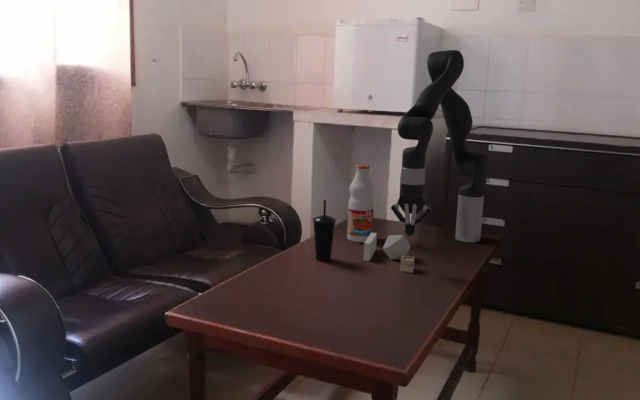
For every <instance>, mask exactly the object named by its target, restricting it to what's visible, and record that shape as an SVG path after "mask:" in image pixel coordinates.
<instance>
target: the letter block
mask: <svg viewBox="0 0 640 400" xmlns="http://www.w3.org/2000/svg"><path fill="white" fill-rule="evenodd" d="M414 267H415V256H410V255H409V256H408V255H406V256H402V257H401V259H400V264H399V271H400V272H404V273H412V274H413V273H414V270H415V269H414Z"/></svg>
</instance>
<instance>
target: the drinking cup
mask: <svg viewBox="0 0 640 400" xmlns="http://www.w3.org/2000/svg"><path fill="white" fill-rule="evenodd" d="M326 209H327V200H326V199H324V200H323V214H321V215H317V216H315V217H313V218H312V223H313V233H314V236H313V237H314V248H315V249H314V250H315V260H316V261H319V262H328V261H330V260H331V258H332V250H333V249H332V248H333V241H334V236H335V235H334V233H335V226H336V221H337V220H336V218H334V217H332V216H331V215H326V214H327V213H326V211H327V210H326Z"/></svg>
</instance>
